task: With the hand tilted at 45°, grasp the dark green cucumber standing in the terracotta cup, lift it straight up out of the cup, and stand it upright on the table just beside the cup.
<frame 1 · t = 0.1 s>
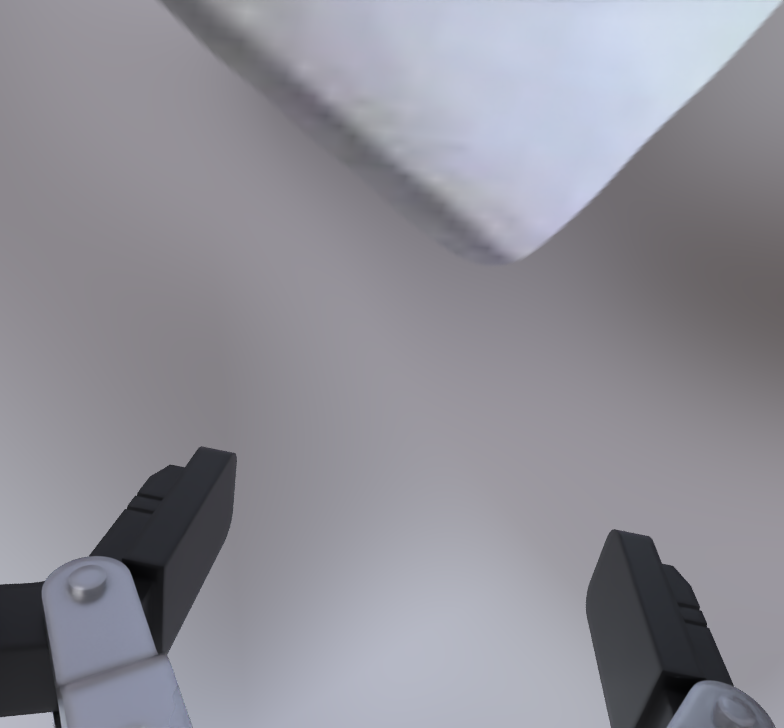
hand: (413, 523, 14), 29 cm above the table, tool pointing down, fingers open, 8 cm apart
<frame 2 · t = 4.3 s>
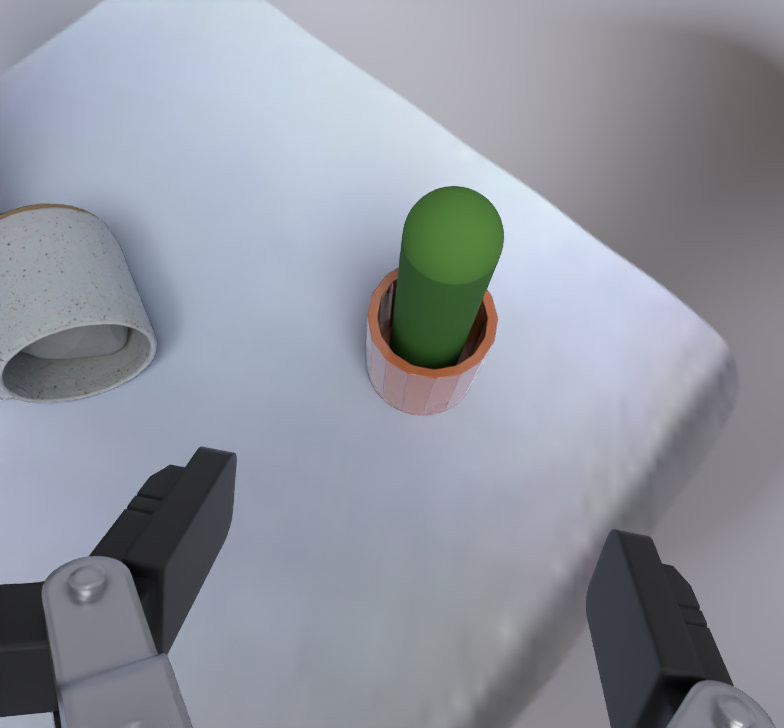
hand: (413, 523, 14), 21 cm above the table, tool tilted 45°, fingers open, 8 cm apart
cup: (421, 363, 38), on the table, touching cucumber
cucumber: (422, 359, 37), point 1 cm above the table, touching cup
ceramic mug: (68, 345, 38), on the table
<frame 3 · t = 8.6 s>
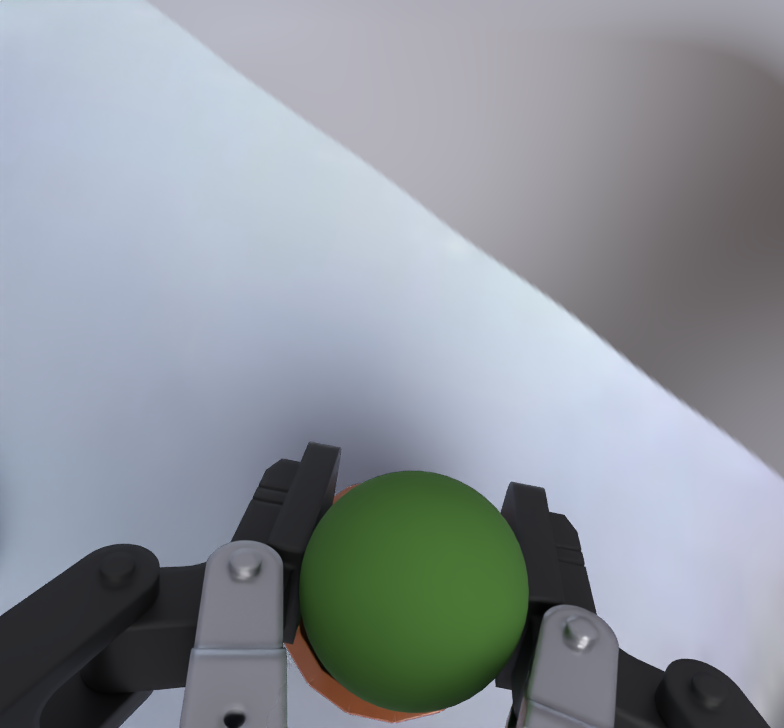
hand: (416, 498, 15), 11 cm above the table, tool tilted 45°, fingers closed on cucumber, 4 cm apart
cup: (385, 595, 24), on the table, touching cucumber
cucumber: (386, 595, 24), point 1 cm above the table, touching cup, gripper
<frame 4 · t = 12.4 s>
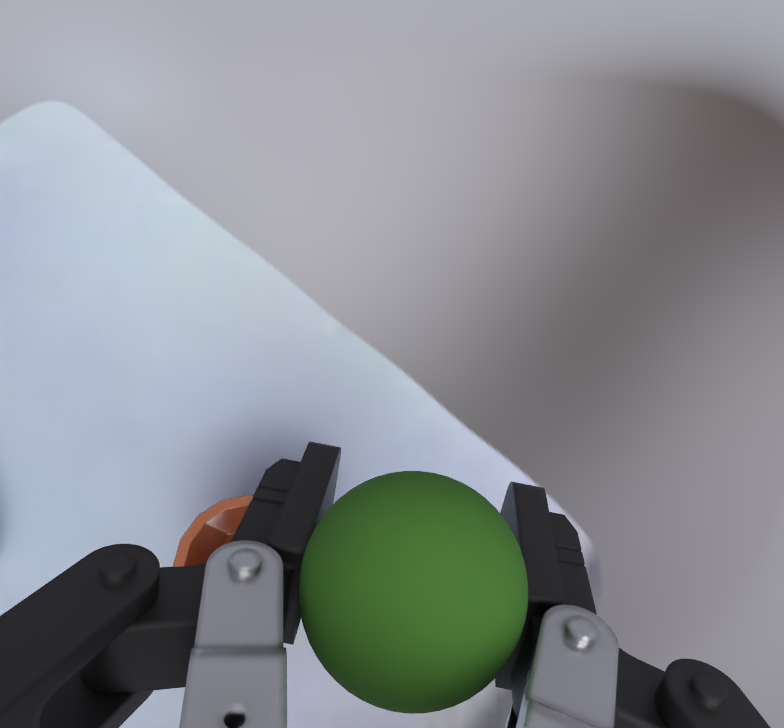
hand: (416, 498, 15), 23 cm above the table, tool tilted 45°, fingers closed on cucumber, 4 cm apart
cup: (263, 571, 36), on the table
cucumber: (385, 595, 24), point 13 cm above the table, touching gripper
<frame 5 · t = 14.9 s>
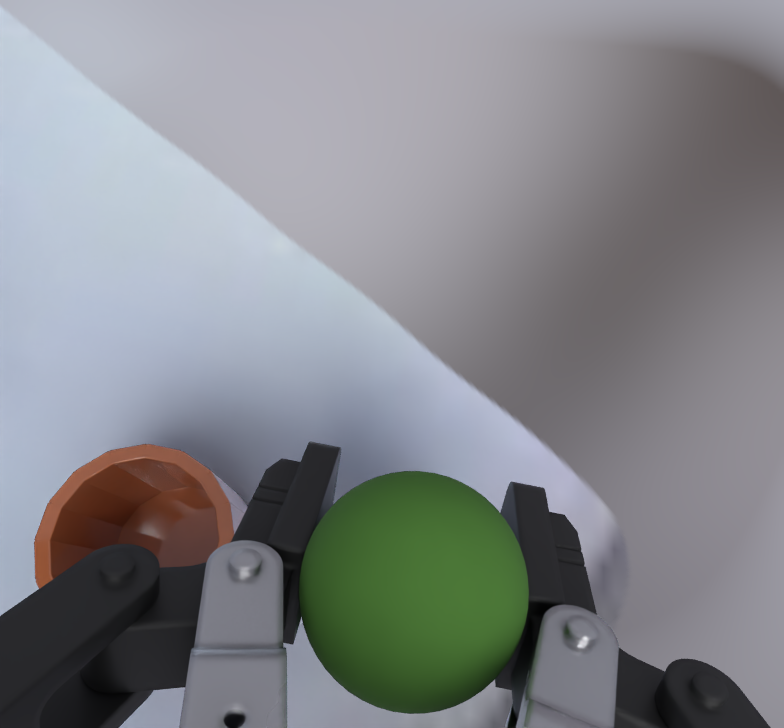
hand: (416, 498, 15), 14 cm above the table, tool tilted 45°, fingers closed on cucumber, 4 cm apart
cup: (185, 554, 27), on the table
cucumber: (386, 595, 24), point 4 cm above the table, touching gripper
when the fingers open (10 cm above the table, at t = 16.4 s): cucumber stays where it is, on the table.
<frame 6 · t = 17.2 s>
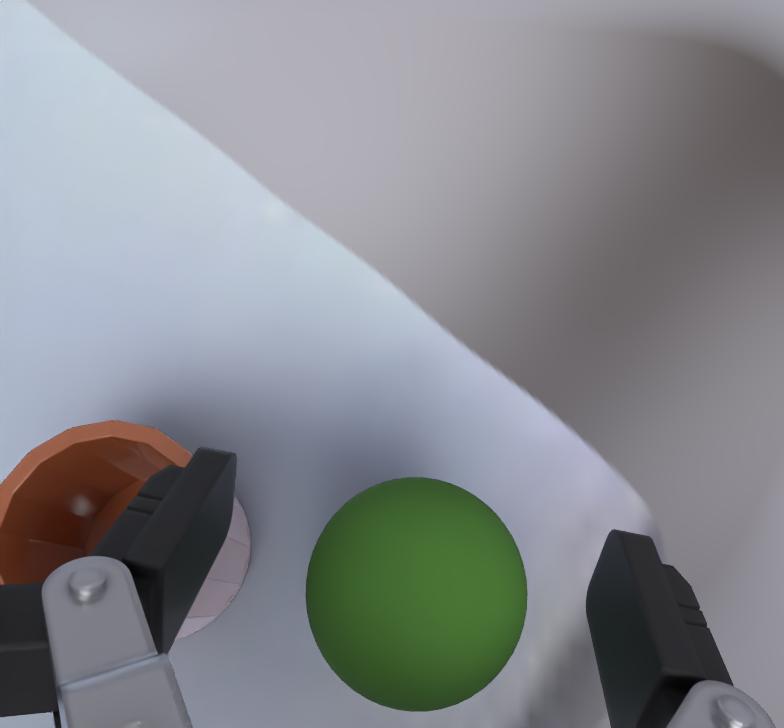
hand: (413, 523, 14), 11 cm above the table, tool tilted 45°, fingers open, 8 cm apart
cup: (165, 550, 24), on the table
cucumber: (388, 597, 24), on the table
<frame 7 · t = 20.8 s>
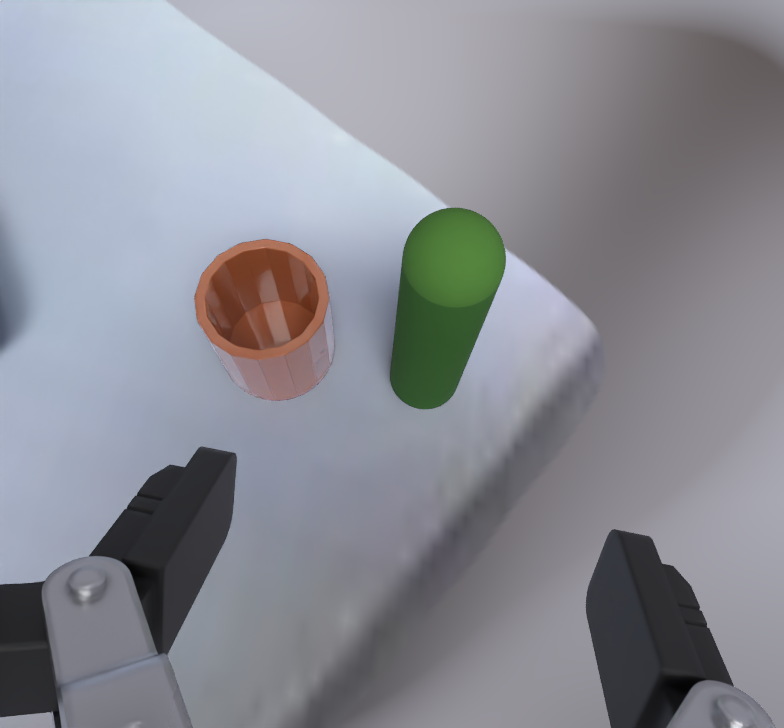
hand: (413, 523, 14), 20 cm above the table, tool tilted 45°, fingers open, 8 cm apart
cup: (278, 348, 37), on the table
cucumber: (424, 376, 37), on the table
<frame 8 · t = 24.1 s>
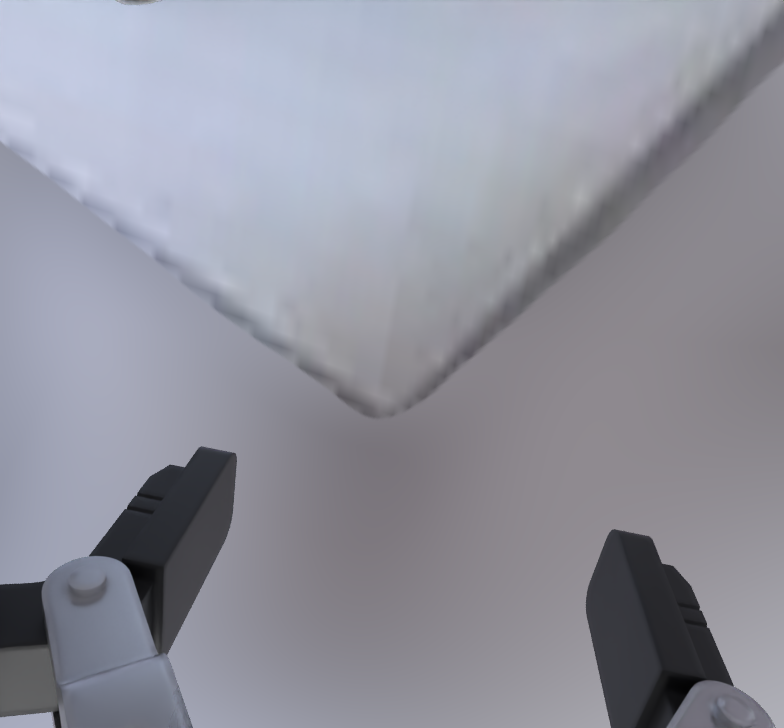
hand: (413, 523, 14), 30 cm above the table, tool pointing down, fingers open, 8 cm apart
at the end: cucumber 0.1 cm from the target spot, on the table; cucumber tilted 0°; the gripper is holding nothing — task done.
